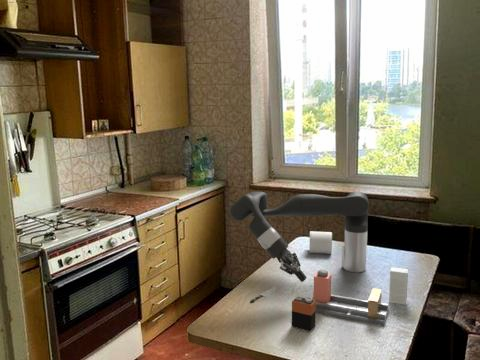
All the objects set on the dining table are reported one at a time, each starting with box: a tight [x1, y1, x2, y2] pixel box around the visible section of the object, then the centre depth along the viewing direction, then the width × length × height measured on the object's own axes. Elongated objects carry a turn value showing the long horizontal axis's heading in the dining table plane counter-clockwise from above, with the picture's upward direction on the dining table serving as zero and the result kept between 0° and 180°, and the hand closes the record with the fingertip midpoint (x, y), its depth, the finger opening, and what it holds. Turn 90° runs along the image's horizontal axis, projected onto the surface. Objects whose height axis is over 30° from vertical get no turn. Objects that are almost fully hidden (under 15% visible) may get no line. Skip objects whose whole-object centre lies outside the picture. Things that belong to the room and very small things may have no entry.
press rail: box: [311, 288, 390, 326], centre depth 161 cm, size 26×12×8 cm, turn 66°
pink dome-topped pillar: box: [312, 269, 332, 303], centre depth 164 cm, size 5×5×11 cm
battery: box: [291, 295, 317, 332], centre depth 150 cm, size 4×7×10 cm, turn 60°
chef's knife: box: [249, 285, 277, 304], centre depth 175 cm, size 19×1×3 cm
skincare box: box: [388, 266, 409, 305], centre depth 167 cm, size 6×4×12 cm
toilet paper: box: [309, 230, 333, 255], centre depth 218 cm, size 10×10×10 cm
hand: (304, 279), depth 166 cm, fingers closed
